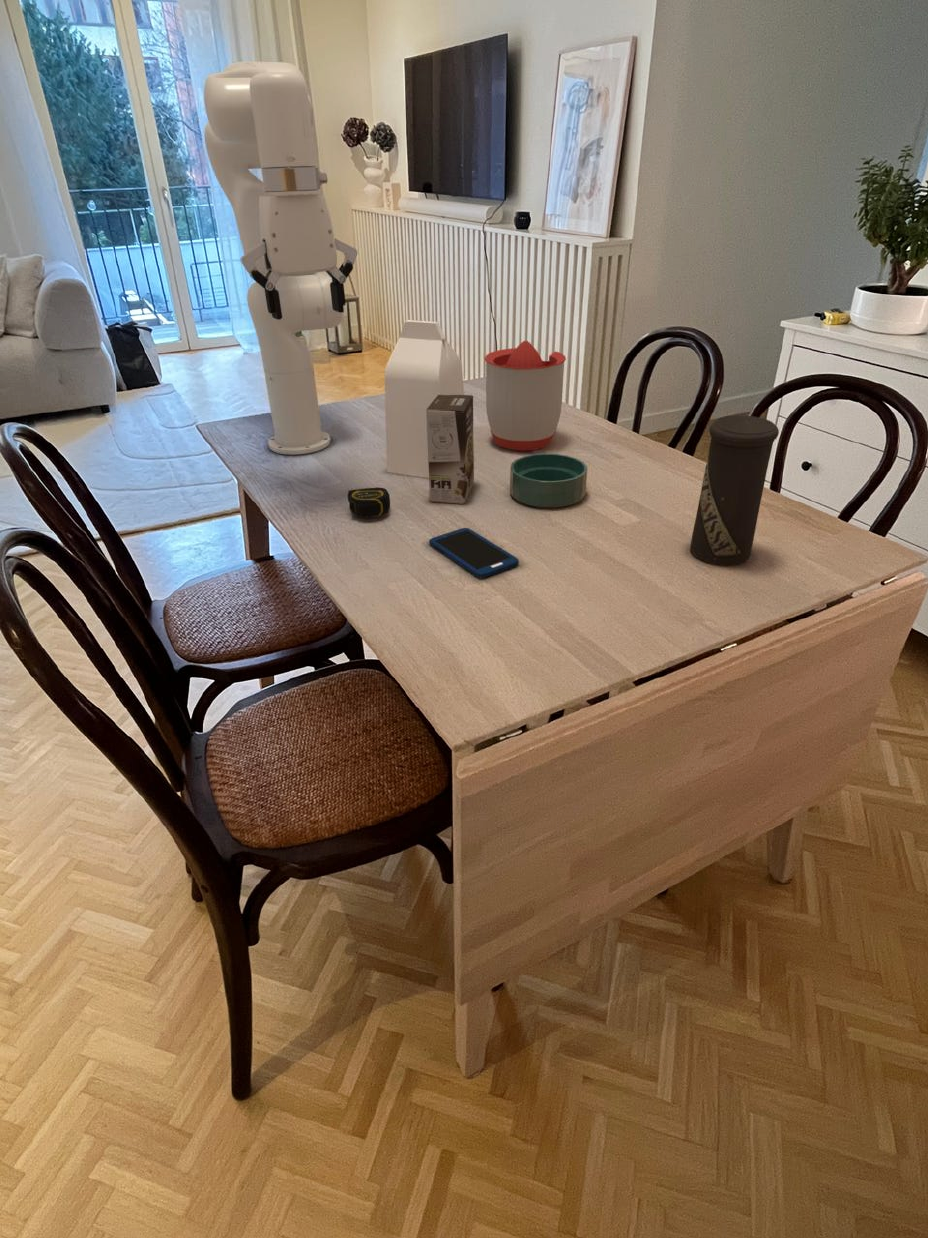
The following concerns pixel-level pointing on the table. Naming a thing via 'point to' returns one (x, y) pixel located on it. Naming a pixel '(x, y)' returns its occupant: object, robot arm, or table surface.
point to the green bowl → (548, 480)
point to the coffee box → (450, 448)
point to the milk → (416, 393)
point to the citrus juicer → (523, 396)
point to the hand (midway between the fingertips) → (308, 314)
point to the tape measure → (369, 502)
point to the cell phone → (473, 552)
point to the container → (732, 489)
